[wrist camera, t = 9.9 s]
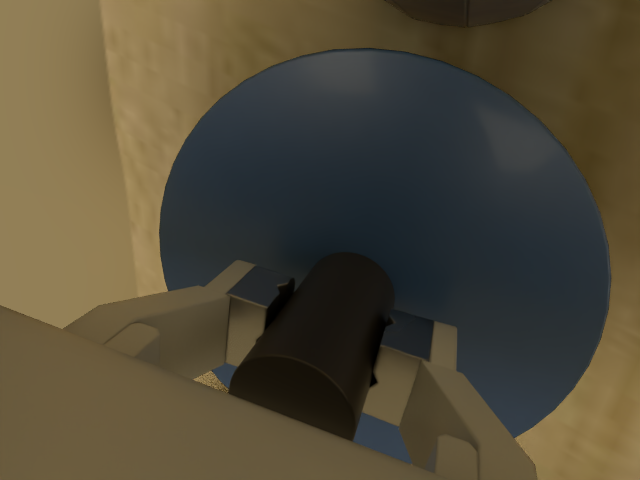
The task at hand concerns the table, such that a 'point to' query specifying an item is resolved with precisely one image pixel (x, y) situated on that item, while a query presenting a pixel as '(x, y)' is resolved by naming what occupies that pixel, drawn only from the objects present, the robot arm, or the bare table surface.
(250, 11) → the table surface
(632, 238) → the table surface
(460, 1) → the pot
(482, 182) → the lid
